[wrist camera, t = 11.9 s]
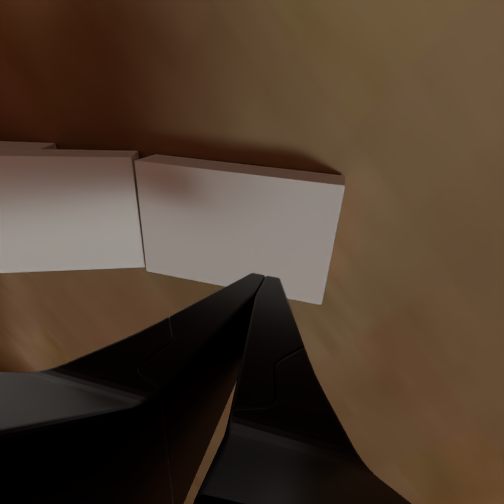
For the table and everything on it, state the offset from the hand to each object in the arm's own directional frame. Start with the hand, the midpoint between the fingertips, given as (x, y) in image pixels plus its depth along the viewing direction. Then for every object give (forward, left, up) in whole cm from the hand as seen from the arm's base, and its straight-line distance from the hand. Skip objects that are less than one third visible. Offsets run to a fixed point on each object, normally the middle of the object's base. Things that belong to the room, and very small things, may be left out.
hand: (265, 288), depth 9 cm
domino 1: (-2, +6, -4) cm, 8 cm away
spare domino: (0, -2, -4) cm, 5 cm away
